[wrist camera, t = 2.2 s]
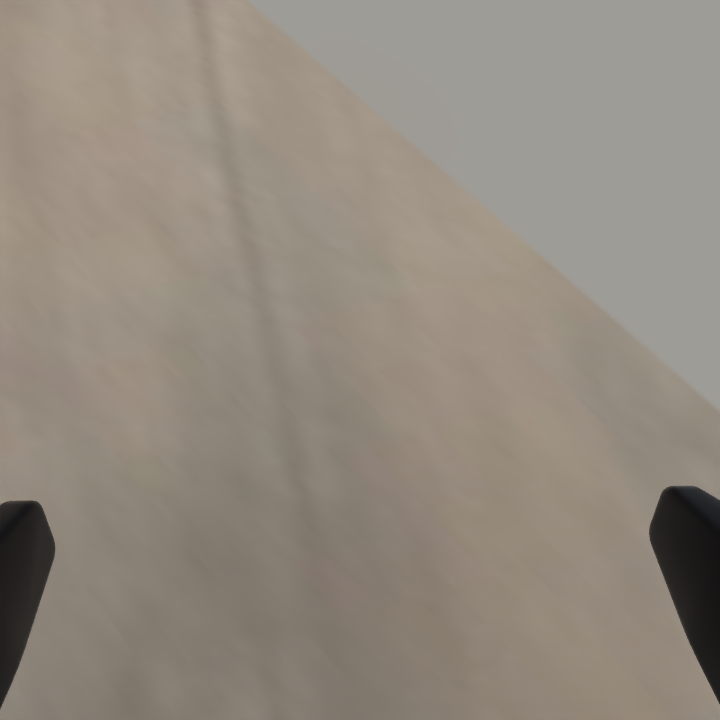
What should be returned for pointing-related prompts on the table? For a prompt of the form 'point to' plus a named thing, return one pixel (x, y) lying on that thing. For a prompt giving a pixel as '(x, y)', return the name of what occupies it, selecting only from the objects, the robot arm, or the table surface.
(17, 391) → the table surface
